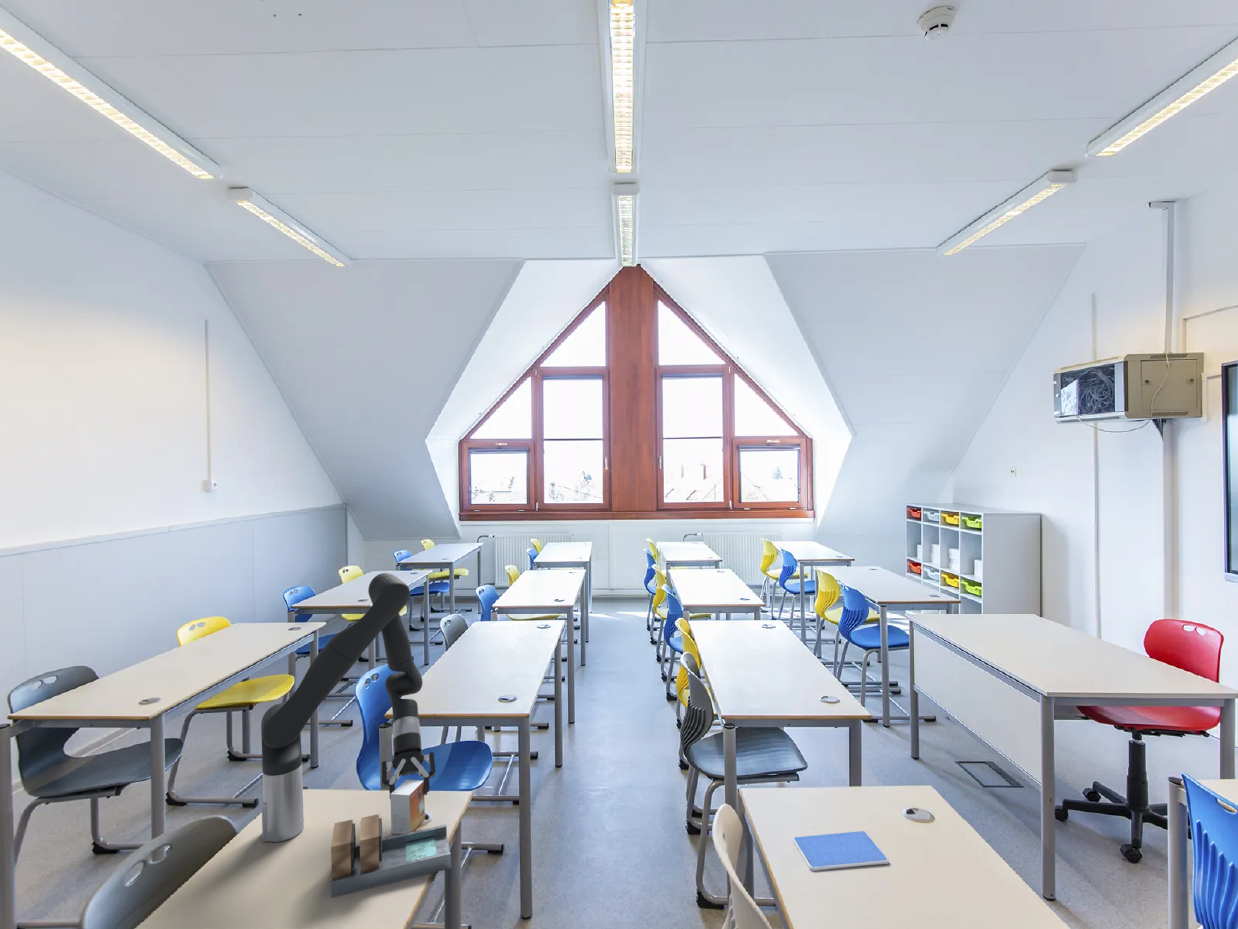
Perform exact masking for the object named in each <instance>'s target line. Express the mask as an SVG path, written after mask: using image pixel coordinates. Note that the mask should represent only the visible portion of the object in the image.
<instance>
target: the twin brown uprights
mask: <svg viewBox="0 0 1238 929" xmlns="http://www.w3.org/2000/svg"><path fill="white" fill-rule="evenodd" d="M382 824H383V820H382V817H380V814H379V813H378V814H373V815H368V816H363V817H361V819H360V830H359V833H360V834H359V843H360V870H361V872H364V871H368V870H373V869H377V868H380V862H381V861H382V838H383V826H382ZM356 844H357V843H356V823H353V819H349V820H343V821H339V822H335V823H334V826H333V832H332V839H331V845H330V855H331V856H330V858H331V859H330V860H331V863H330V864H331V880H332V879H334V878H338V877H343V876H347V875H351V874H352V869H353V868H354V863H355V851H356Z"/></svg>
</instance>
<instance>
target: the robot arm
mask: <svg viewBox="0 0 1238 929" xmlns="http://www.w3.org/2000/svg"><path fill="white" fill-rule="evenodd" d="M367 593H368V596H369V598H370V601H371V603H372V605H371V606H370V607H369V609H368V610H367V611H366V612H365V613H364V615H362V617H361V618H359V619H358V620H357V621H356V622H354V623H353V624H351V625H350V626H347V627H346V628H344V629H342V630H341V631H339V632H337V633H336V634H335V635H334V636H333V637H332V638H331V639H329V640H328V642H326V644H325V646H324V647H323V648H322V649H321V650H320V652H319V653H318V654H317V655H316V657H315V658H314V660H313V661H312V662H311V664H310V666H309V668H308V669H307V671H306V673H305V674H304V676H303V677H302V678H303V679H302V680H301V681H300V684H299V685H298V687H297V688H296V690H295V691H294V692H293V694H292V695H291V696H290V697H289V698H288V699H287V701H285V702H278V703H277V704H274V705H271V706H270V707H269V708H268V709H267V710H266V711H265V713H264V715H262V717H261V718H262V719H261V723H260V724H261V726H260V729H261V730H260V731H261V734H260V735H261V765H262V766H261V768H262V771H261V772H262V796H263V797H262V798H263V802H262V804H261V826H262V827H261V830H262V843H265V842H271V843H279V842H284V841H288V840H290V839H292V838H294V837H297V836H298V835H299V834H300V833H301V832H302V831H303V830H304V827H305V826H304V825H305V823H304V822H305V821H304V820H305V819H304V818H305V817H304V796H303V795H304V794H303V792H304V789H303V784H304V783H303V755H302V754H303V753H302V739H301V738H302V736H301V733H302V731H303V729H304V728H305V727H306V725H307V723H308V722H309V720H310V719H311V717H312V716H313V715H314V713H315V711H316V710H317V709H318V707H319V706H320V704H321V703H322V702H324V700H325V699H326V698H327V697H328V695H330V693H331V692H332V691H333V690H334V689H335V687H337V685H338V683H340V682H341V680H342V679H343V678H344V676H346V675H347V673H348V672H349V671H350V670H351V668H352V667H353V666H354V665H355V664H356V662H357V661H358V660H359V658H360V657H361V655H362V654H363V653H364V652H365V651H366V649H367V648H368V647H369V646H370V644H372V642H373V641H374V640H375V639H376V637H377V636H378V635H379V634H380V633H381V635H382V640H383V646H384V651H385V657H386V663H387V666H388V669H389V670H390V671H392V672H394V673H391V674H389V675H388V676H386V679H385V682H384V687H385V688H384V689H385V690H386V693H387V696H388V699H389V702H390V705H391V708H392V723H393V724H392V749H393V750H392V751H393V759H392V761H388V762H387V761H385V760H382V761H381V784H382V785H381V786H382V787H383V788H385V787H386V788H389V789H388V790H389V795H390V794H391V793H392V792H394V791H395V790H396V789H395V788H396V784H397V782H398V781H399V779H400V778H401V776H402V777H405V776H408V775H415V774H416V773H417V774H418V775H419V776H420V777H421V778H422V779H423V781H424V796H427V795H428V793H429V792H430V788H431V786H430V779H432V778H434V777H436V761H435V755H434V752H433V751H431V752H429V753H428V754H424V753H423V751H422V749H423V748H422V737H421V735H422V733H421V725H420V719H419V708H418V707H419V706H418V705H419V704H418V702H417V701H416V700H415V699H413V698H401V697H404V696H405V697H406V696H409V695H414V694H417V693H419V692H420V691H421V689H422V687H423V678H422V675H421V673H420V671H419V669H418V668H417V665H416V664H415V662H414V659H413V655H412V654H413V653H412V649H411V643H410V639H409V636H408V633H407V630H406V628H405V625H404V624H403V621H402V618H401V615H400V612H401V611H402V610H403V608H404V607H405V606H406V605H407V603H408V601H409V600H410V595H411V592H410V587H409V586H408V585H407V584H406V583H405V582H404V581H402V579H400V578H399V577H397V576H395V575H394V574H391V573H389V572H383V573H379V574H377V575H376V576H374V577H373V578H372V579H371V581H370V582H369V584H368V592H367ZM424 761H426V763H427V764H429V770H430V771H428V772H427V770H426V769H425V768H424V766H423V765H422V764H423V762H424ZM391 767H393V769H394V770H395V771H393V772H394V773H393V775H392V777H391V778H390V779H388V773H387V772H388V771H390V769H391ZM389 799H390V801H391V798H390V797H389Z"/></svg>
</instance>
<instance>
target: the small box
mask: <svg viewBox="0 0 1238 929" xmlns="http://www.w3.org/2000/svg"><path fill="white" fill-rule="evenodd" d="M390 798H391V800H390V831H391V834H393V835H394V834H395V835H401V834H405V833H410V832H414V831H416V829H417V828H418V827H419V826H420V824H422V822H424V820H425V819H426V811H425V806H426V805H425V802H426V801H425V795H424V780H419V779H405V780H404V781H403V782H402V783H401V784H400V785H399V786H398V787H396V789H395V791H394V792H392V793H391V794H390V793H389V799H390Z"/></svg>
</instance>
